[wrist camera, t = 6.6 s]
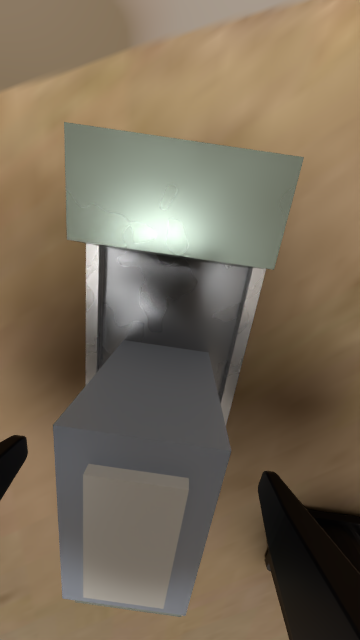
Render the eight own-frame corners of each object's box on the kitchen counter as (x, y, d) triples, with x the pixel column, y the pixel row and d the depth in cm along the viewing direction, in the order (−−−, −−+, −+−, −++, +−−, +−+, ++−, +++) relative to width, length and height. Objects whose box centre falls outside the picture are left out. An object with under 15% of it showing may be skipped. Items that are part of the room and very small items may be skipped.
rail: (263, 211, 9) (336, 162, 4) (193, 512, 14) (195, 619, 10) (108, 189, 9) (31, 117, 4) (98, 499, 14) (60, 600, 10)
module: (208, 352, 9) (233, 461, 4) (186, 463, 11) (185, 630, 6) (123, 340, 9) (45, 434, 4) (116, 453, 11) (57, 611, 6)
